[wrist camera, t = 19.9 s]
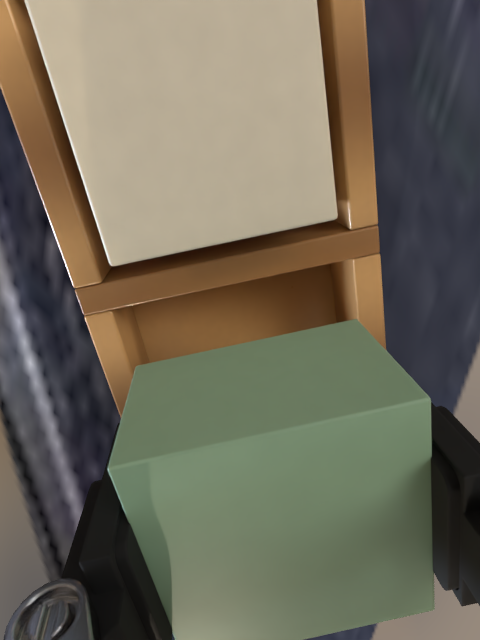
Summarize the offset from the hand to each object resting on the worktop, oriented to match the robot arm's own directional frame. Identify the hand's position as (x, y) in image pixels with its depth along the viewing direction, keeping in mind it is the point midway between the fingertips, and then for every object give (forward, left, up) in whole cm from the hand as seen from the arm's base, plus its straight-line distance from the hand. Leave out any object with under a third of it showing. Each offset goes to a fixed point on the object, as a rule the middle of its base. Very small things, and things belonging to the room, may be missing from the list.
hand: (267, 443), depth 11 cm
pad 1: (-8, 0, -5) cm, 9 cm away
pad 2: (0, 0, 0) cm, 0 cm away
